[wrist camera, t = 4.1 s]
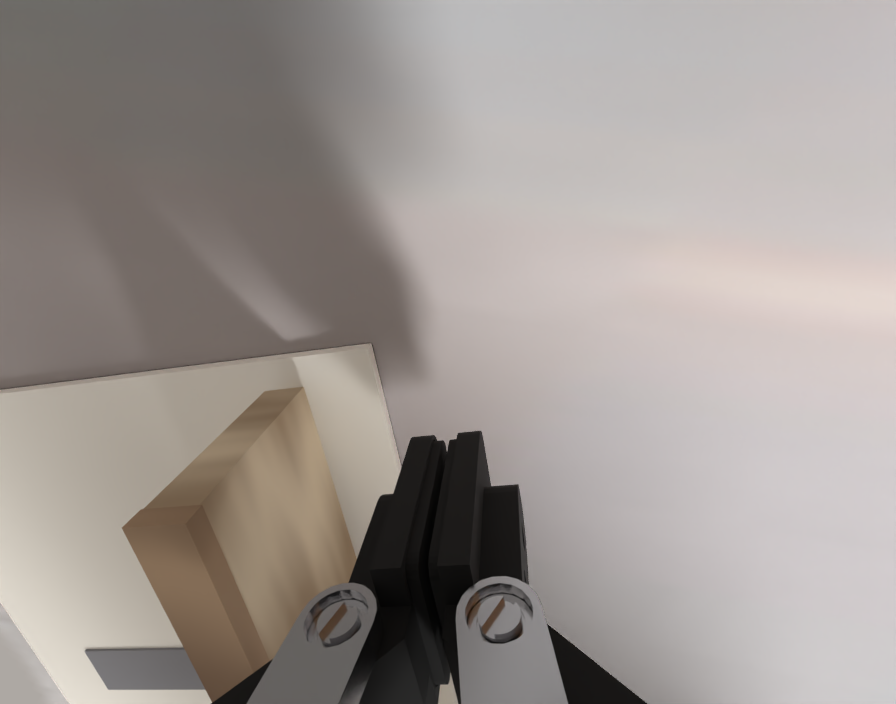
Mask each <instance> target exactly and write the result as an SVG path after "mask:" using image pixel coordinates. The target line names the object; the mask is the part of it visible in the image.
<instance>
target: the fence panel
mask: <svg viewBox="0 0 896 704" xmlns="http://www.w3.org/2000/svg"><path fill="white" fill-rule="evenodd" d="M122 530H123V532H124V534H125V535H126V537H127V539H128V541H129V543H130V545H131V547H132V549H133V551H134V553H135V555H136V557H137V559H138V561H139V562H140V564H141V566H142V568H143V570H144V572H145V574H146V576H147V578H148V580H149V582H150V584H151V586H152V588H153V589H154V591H155V593H156V595H157V597H158V599H159V601H160V603H161V605H162V607H163V609H164V611H165V613H166V615H167V616H168V618H169V620H170V622H171V624H172V626H173V628H174V630H175V632H176V634H177V636H178V638H179V640H180V642H181V643H182V645H183V647H184V649H185V651H186V653H187V655H188V657H189V659H190V661H191V663H192V665H193V667H194V669H195V670H196V672H197V674H198V676H199V678H200V680H201V682H202V684H203V686H204V688H205V690H206V692H207V694H208V696H209V697H210V699H211V701H212V703H213V702H214V701H215V700H217V699H218V698H220V697H221V696H222V695H224V694H225V693H226V692H228V691H229V690H231V689H232V688H233V687H235V686H236V685H237V684H239V683H240V682H242V681H243V680H244V679H246V678H247V677H248V676H250V675H251V674H253V673H254V672H255V671H257V670H258V669H259V668H261V667H262V666H264V665H265V664H266V663H268V662H269V661H271V660H272V659H273V658H274V657H275V655H276V653H277V652H278V650H279V648H280V646H281V645H282V643H283V641H284V640H285V638H286V636H287V635H288V633H289V631H290V630H291V628H292V626H293V625H294V623H295V621H296V619H297V618H298V616H299V614H300V613H301V611H302V610H303V609H304V607H305V606H306V605H307V604H308V602H309V601H310V600H312V599H313V598H314V597H315V596H316V595H317V594H319V593H320V592H322V591H324V590H326V589H328V588H329V587H332V586H335V585H338V584H342V583H349V580H350V577H351V574H352V571H353V569H354V566H355V563H356V560H357V558H356V555H355V552H354V548H353V545H352V542H351V539H350V535H349V532H348V529H347V526H346V522H345V519H344V516H343V513H342V509H341V506H340V503H339V500H338V496H337V493H336V490H335V487H334V483H333V480H332V477H331V474H330V470H329V467H328V464H327V461H326V457H325V454H324V451H323V448H322V444H321V441H320V438H319V435H318V431H317V428H316V425H315V422H314V418H313V415H312V412H311V409H310V405H309V402H308V399H307V396H306V392H305V389H304V387H297V388H288V389H279V390H270V391H264V392H263V393H262V394H261V395H260V396H259V397H258V398H257V399H256V400H255V401H254V402H253V403H252V404H251V405H250V406H249V407H248V408H247V409H246V410H245V411H244V412H243V413H242V414H241V415H240V416H239V417H238V418H237V419H236V420H235V421H234V422H232V423H231V424H230V425H229V426H228V427H227V428H226V429H225V430H224V431H223V432H222V433H221V434H220V435H219V436H218V437H217V438H216V439H215V440H214V441H213V442H212V443H211V444H210V445H209V446H208V447H207V448H206V449H205V450H204V451H203V452H202V453H201V454H199V455H198V456H197V457H196V458H195V459H194V460H193V461H192V462H191V463H190V464H189V465H188V466H187V467H186V468H185V469H184V470H183V471H182V472H181V473H180V474H179V475H178V476H177V477H176V478H175V479H174V480H173V481H172V482H171V483H170V484H169V485H168V486H166V487H165V488H164V489H163V490H162V491H161V492H160V493H159V494H158V495H157V496H156V497H155V498H154V499H153V500H152V501H151V502H150V503H149V504H148V505H147V506H146V507H145V508H144V509H141V510H140V511H139V512H138V513H137V514H135V515H134V516H133V517H132V518H131V519H130V520H129V521H128V522H127V523H126V524H125V525H124V526H123V527H122Z"/></svg>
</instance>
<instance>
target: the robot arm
mask: <svg viewBox="0 0 896 704" xmlns="http://www.w3.org/2000/svg"><path fill="white" fill-rule="evenodd" d="M450 673H451V676H452V680H453V684H454V688H455V692H456V696H457V700H458V704H647V703H646V702H644V701H643V700H642V699H640V698H639V697H638V696H637V695H635V694H634V693H633V692H632V691H630V690H629V689H628V688H627V687H625V686H624V685H623V684H622V683H620V682H619V681H618V680H617V679H615V678H614V677H613V676H612V675H610V674H609V673H608V672H607V671H605V670H604V669H603V668H602V667H600V666H599V665H598V664H597V663H595V662H594V661H593V660H592V659H590V658H589V657H588V656H587V655H585V654H584V653H583V652H582V651H580V650H579V649H578V648H577V647H575V646H574V645H573V644H572V643H570V642H569V641H568V640H567V639H565V638H564V637H563V636H562V635H560V634H559V633H558V632H556V631H555V630H554V629H553V628H551V627H550V626H549V625H548V624H547V622H546V618H545V615H544V611H543V607H542V604H541V602H540V599H539V597H538V595H537V593H536V592H535V591H534V590H533V589H532V588H531V587H530V586H529V581H528V565H527V550H526V538H525V528H524V519H523V511H522V504H521V497H520V491H519V486H518V485H505V486H491V483H490V477H489V471H488V465H487V459H486V453H485V447H484V441H483V436H482V432H481V431H474V432H463V433H458V435H457V439H454V440H450V441H449V446H448V451H447V450H446V446H445V442H444V441H437V439H436V437H435V436H434V435H431V436H420V437H412V438H411V440H410V443H409V446H408V449H407V452H406V455H405V458H404V461H403V465H402V468H401V471H400V474H399V477H398V480H397V483H396V487H395V490H394V493H393V494H383V495H381V496H380V497H379V499H378V501H377V504H376V507H375V510H374V513H373V515H372V518H371V521H370V524H369V527H368V529H367V532H366V535H365V538H364V541H363V543H362V546H361V549H360V552H359V555H358V557H357V560H356V563H355V566H354V569H353V571H352V574H351V577H350V580H349V583H342V584H338V585H335V586H332V587H329V588H328V589H326V590H324V591H322V592H320V593H319V594H317V595H316V596H315V597H314V598H313V599H312V600H310V601H309V602H308V604H307V605H306V606H305V607H304V609H303V610H302V611H301V613H300V614H299V616H298V618H297V619H296V621H295V623H294V625H293V626H292V628H291V630H290V631H289V633H288V635H287V636H286V638H285V640H284V641H283V643H282V645H281V646H280V648H279V650H278V652H277V653H276V655H275V657H274V658H273V659H272V660H271V661H269V662H268V663H266V664H265V665H264V666H262V667H261V668H259V669H258V670H257V671H255V672H254V673H253V674H251V675H250V676H248V677H247V678H246V679H244V680H243V681H242V682H240V683H239V684H237V685H236V686H235V687H233V688H232V689H231V690H229V691H228V692H226V693H225V694H224V695H222V696H221V697H220V698H218V699H217V700H215V701H214V702H213V703H211V704H438V700H439V691H440V685H448V684H449V681H450Z"/></svg>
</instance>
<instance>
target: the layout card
mask: <svg viewBox="0 0 896 704" xmlns="http://www.w3.org/2000/svg"><path fill="white" fill-rule="evenodd" d="M297 387H304V389H305V392H306V396H307V399H308V402H309V405H310V409H311V412H312V415H313V418H314V422H315V425H316V428H317V431H318V435H319V438H320V441H321V444H322V448H323V451H324V454H325V457H326V461H327V464H328V467H329V470H330V474H331V477H332V480H333V483H334V487H335V490H336V493H337V496H338V500H339V503H340V506H341V509H342V513H343V516H344V519H345V522H346V526H347V529H348V532H349V535H350V539H351V542H352V545H353V548H354V552H355V555H356V558H357V557H358V555H359V552H360V549H361V546H362V543H363V541H364V538H365V535H366V532H367V529H368V527H369V524H370V521H371V518H372V515H373V513H374V510H375V507H376V504H377V501H378V499H379V497H380V496H381V495H383V494H393V493H394V490H395V487H396V483H397V480H398V477H399V474H400V471H401V468H402V467H401V463H400V459H399V455H398V451H397V446H396V442H395V438H394V434H393V430H392V426H391V422H390V418H389V414H388V409H387V405H386V401H385V397H384V393H383V389H382V385H381V381H380V376H379V372H378V368H377V364H376V360H375V356H374V352H373V348H372V344H371V343H368V344H360V345H352V346H344V347H336V348H328V349H320V350H312V351H305V352H297V353H289V354H281V355H273V356H265V357H257V358H249V359H241V360H233V361H225V362H217V363H209V364H201V365H193V366H185V367H177V368H170V369H162V370H154V371H146V372H138V373H130V374H122V375H114V376H106V377H98V378H90V379H82V380H74V381H66V382H58V383H50V384H43V385H35V386H27V387H19V388H11V389H3V390H0V603H1V604H2V606H3V607H4V609H5V610H6V612H7V613H8V615H9V616H10V618H11V619H12V621H13V622H14V623H15V625H16V626H17V628H18V629H19V631H20V632H21V634H22V635H23V637H24V638H25V640H26V641H27V643H28V644H29V646H30V647H31V648H32V650H33V651H34V653H35V654H36V656H37V657H38V659H39V660H40V662H41V663H42V665H43V666H44V668H45V669H46V671H47V672H48V674H49V675H50V676H51V678H52V679H53V681H54V682H55V684H56V685H57V687H58V688H59V690H60V691H61V693H62V694H63V696H64V697H65V699H66V700H67V701H68V703H69V704H211V703H212V701H211V699H210V697H209V696H208V694H207V692H206V690H205V688H204V686H203V684H202V682H201V680H200V678H199V676H198V674H197V672H196V670H195V669H194V667H193V665H192V663H191V661H190V659H189V657H188V655H187V653H186V651H185V649H184V647H183V645H182V643H181V642H180V640H179V638H178V636H177V634H176V632H175V630H174V628H173V626H172V624H171V622H170V620H169V618H168V616H167V615H166V613H165V611H164V609H163V607H162V605H161V603H160V601H159V599H158V597H157V595H156V593H155V591H154V589H153V588H152V586H151V584H150V582H149V580H148V578H147V576H146V574H145V572H144V570H143V568H142V566H141V564H140V562H139V561H138V559H137V557H136V555H135V553H134V551H133V549H132V547H131V545H130V543H129V541H128V539H127V537H126V535H125V534H124V532H123V530H122V527H123V526H124V525H125V524H126V523H127V522H128V521H129V520H130V519H131V518H132V517H133V516H134V515H135V514H137V513H138V512H139V511H140V510H141V509H144V508H145V507H146V506H147V505H148V504H149V503H150V502H151V501H152V500H153V499H154V498H155V497H156V496H157V495H158V494H159V493H160V492H161V491H162V490H163V489H164V488H165V487H166V486H168V485H169V484H170V483H171V482H172V481H173V480H174V479H175V478H176V477H177V476H178V475H179V474H180V473H181V472H182V471H183V470H184V469H185V468H186V467H187V466H188V465H189V464H190V463H191V462H192V461H193V460H194V459H195V458H196V457H197V456H198V455H199V454H201V453H202V452H203V451H204V450H205V449H206V448H207V447H208V446H209V445H210V444H211V443H212V442H213V441H214V440H215V439H216V438H217V437H218V436H219V435H220V434H221V433H222V432H223V431H224V430H225V429H226V428H227V427H228V426H229V425H230V424H231V423H232V422H234V421H235V420H236V419H237V418H238V417H239V416H240V415H241V414H242V413H243V412H244V411H245V410H246V409H247V408H248V407H249V406H250V405H251V404H252V403H253V402H254V401H255V400H256V399H257V398H258V397H259V396H260V395H261V394H262V393H263V392H264V391H270V390H279V389H288V388H297ZM438 704H458V700H457V696H456V692H455V688H454V684H453V680H452V676H451V673H450V681H449V684H448V685H440V691H439V700H438Z"/></svg>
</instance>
